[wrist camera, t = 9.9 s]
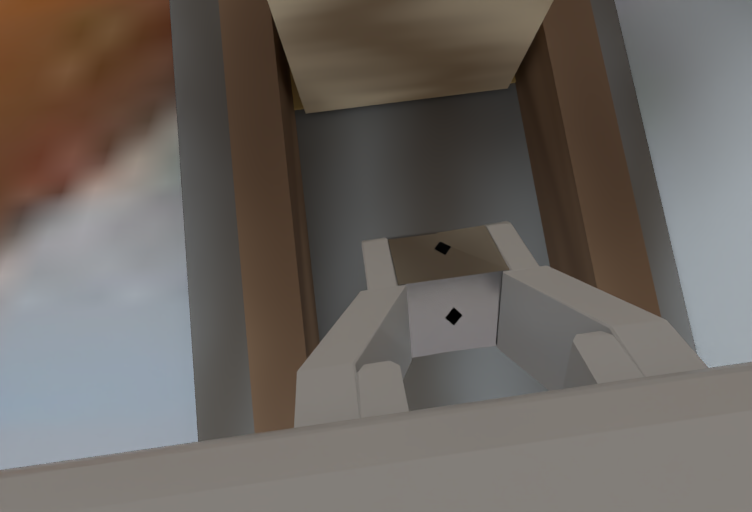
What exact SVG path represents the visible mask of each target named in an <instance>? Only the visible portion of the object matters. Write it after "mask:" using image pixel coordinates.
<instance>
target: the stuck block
mask: <svg viewBox="0 0 752 512" xmlns="http://www.w3.org/2000/svg"><path fill="white" fill-rule="evenodd" d="M267 1H268V4H269V7H270V10H271V13H272V16H273V19H274V22H275V25H276V28H277V31H278V34H279V37H280V40H281V42H282V45H283V48H284V51H285V54H286V57H287V60H288V63H289V66H290V69H291V72H292V75H293V78H294V81H295V84H296V87H297V90H298V93H299V96H300V99H301V102H302V105H303V107H304V110H305V113H306V114H307V113H315V112H323V111H331V110H339V109H347V108H355V107H363V106H371V105H379V104H387V103H395V102H403V101H411V100H419V99H427V98H435V97H443V96H451V95H459V94H467V93H475V92H483V91H491V90H499V89H507V88H508V87H509V85H510V83H511V81H512V79H513V77H514V75H515V73H516V72H517V70H518V68H519V66H520V64H521V62H522V60H523V58H524V56H525V54H526V52H527V50H528V48H529V47H530V45H531V43H532V41H533V39H534V37H535V35H536V33H537V31H538V29H539V27H540V25H541V23H542V22H543V20H544V18H545V16H546V14H547V12H548V10H549V8H550V6H551V4H552V2H553V0H267Z"/></svg>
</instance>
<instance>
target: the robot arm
mask: <svg viewBox="0 0 752 512" xmlns="http://www.w3.org/2000/svg"><path fill="white" fill-rule="evenodd" d="M362 251H363V259H364V266H365V274H366V281H367V289H368V290H364V291H360V293H359V294H358V295H357V296H356V298H355V299H354V300H353V301H352V303H351V304H350V305H349V306H348V308H347V309H346V310H345V311H344V313H343V314H342V315H341V317H340V318H339V319H338V320H337V322H336V323H335V324H334V325H333V327H332V328H331V329H330V330H329V332H328V333H327V334H326V336H325V337H324V338H323V339H322V341H321V342H320V343H319V344H318V346H317V347H316V348H315V349H314V351H313V352H312V353H311V355H310V356H309V357H308V358H307V360H306V361H305V362H304V363H303V365H302V366H301V367H300V368H299V370H298V371H297V381H296V399H295V418H294V428H289V429H282V430H275V431H268V432H261V433H255V434H248V435H241V436H234V437H227V438H220V439H213V440H206V441H199V442H192V443H185V444H178V445H171V446H165V447H158V448H151V449H144V450H137V451H130V452H123V453H116V454H109V455H102V456H95V457H88V458H81V459H74V460H67V461H60V462H53V463H46V464H39V465H33V466H26V467H19V468H12V469H5V470H0V512H752V362H747V363H740V364H733V365H726V366H719V367H712V368H708V367H707V366H706V364H705V363H704V362H703V361H702V360H701V359H700V358H699V356H698V355H697V354H696V353H695V352H694V351H693V350H692V348H691V347H690V346H689V345H688V344H687V343H686V342H685V340H684V339H683V338H682V337H681V336H680V335H679V334H678V332H677V331H676V330H675V329H674V328H673V327H672V326H671V324H670V323H669V322H668V321H667V320H665V319H663V318H661V317H659V316H656V315H654V314H652V313H650V312H648V311H645V310H643V309H641V308H639V307H637V306H635V305H632V304H630V303H628V302H626V301H624V300H621V299H619V298H617V297H615V296H613V295H610V294H608V293H606V292H604V291H602V290H599V289H597V288H595V287H593V286H591V285H589V284H586V283H584V282H582V281H580V280H578V279H575V278H573V277H571V276H569V275H567V274H564V273H562V272H560V271H558V270H556V269H553V268H551V267H549V266H539V265H538V263H537V262H536V260H535V259H534V257H533V256H532V254H531V253H530V251H529V250H528V248H527V247H526V245H525V244H524V242H523V241H522V239H521V237H520V236H519V234H518V233H517V231H516V230H515V228H514V227H513V225H512V224H511V223H510V222H508V221H504V222H498V223H492V224H486V225H482V226H476V227H469V228H463V229H456V230H450V231H443V232H437V233H436V232H431V233H422V234H414V235H405V236H396V237H387V239H386V238H378V239H371V240H364V241H362ZM492 346H497V348H498V349H499V350H500V351H501V352H503V353H504V354H505V355H506V356H507V357H509V358H510V359H511V360H512V361H514V362H515V363H516V364H517V365H518V366H520V367H521V368H522V369H523V370H525V371H526V372H527V373H528V374H530V375H531V376H532V377H533V378H534V379H536V380H537V381H538V382H539V383H541V384H542V385H543V386H544V387H546V388H547V389H548V390H549V391H545V392H538V393H531V394H524V395H517V396H510V397H503V398H496V399H489V400H483V401H476V402H469V403H462V404H455V405H448V406H441V407H434V408H428V409H421V410H414V411H409V409H408V404H407V399H406V394H405V389H404V384H403V379H404V377H405V374H406V372H407V370H408V368H409V366H410V364H411V361H412V358H414V357H420V356H426V355H432V354H438V353H444V352H450V351H457V350H466V349H474V348H483V347H492Z"/></svg>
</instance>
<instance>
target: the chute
mask: <svg viewBox="0 0 752 512" xmlns="http://www.w3.org/2000/svg"><path fill="white" fill-rule="evenodd" d="M169 1H170V16H171V31H172V47H173V62H174V77H175V93H176V108H177V123H178V138H179V154H180V169H181V184H182V200H183V215H184V230H185V246H186V261H187V276H188V292H189V307H190V322H191V337H192V353H193V368H194V383H195V399H196V414H197V429H198V442H199V441H206V440H213V439H220V438H227V437H234V436H241V435H248V434H255V433H261V432H268V431H275V430H282V429H289V428H294V418H295V399H296V381H297V371H298V370H299V368H300V367H301V366H302V365H303V363H304V362H305V361H306V360H307V358H308V357H309V356H310V355H311V353H312V352H313V351H314V349H315V348H316V347H317V346H318V344H319V343H320V342H321V341H322V339H323V338H324V337H325V336H326V334H327V333H328V332H329V330H330V329H331V328H332V327H333V325H334V324H335V323H336V322H337V320H338V319H339V318H340V317H341V315H342V314H343V313H344V311H345V310H346V309H347V308H348V306H349V305H350V304H351V303H352V301H353V300H354V299H355V298H356V296H357V295H358V294H359V293H360V291H364V290H368V289H367V281H366V274H365V266H364V259H363V251H362V241H364V240H371V239H378V238H386V239H387V237H396V236H405V235H414V234H422V233H431V232H436V233H437V232H443V231H450V230H456V229H463V228H469V227H476V226H482V225H486V224H492V223H498V222H504V221H508V222H510V223H511V224H512V225H513V227H514V228H515V230H516V231H517V233H518V234H519V236H520V237H521V239H522V241H523V242H524V244H525V245H526V247H527V248H528V250H529V251H530V253H531V254H532V256H533V257H534V259H535V260H536V262H537V263H538V265H539V266H549V267H551V268H553V269H556V270H558V271H560V272H562V273H564V274H567V275H569V276H571V277H573V278H575V279H578V280H580V281H582V282H584V283H586V284H589V285H591V286H593V287H595V288H597V289H599V290H602V291H604V292H606V293H608V294H610V295H613V296H615V297H617V298H619V299H621V300H624V301H626V302H628V303H630V304H632V305H635V306H637V307H639V308H641V309H643V310H645V311H648V312H650V313H652V314H654V315H656V316H659V317H661V318H663V319H665V320H667V321H668V322H669V323H670V324H671V326H672V327H673V328H674V329H675V330H676V331H677V332H678V334H679V335H680V336H681V337H682V338H683V339H684V340H685V342H686V343H687V344H688V345H689V346H690V347H691V348H692V350H693V351H694V352H695V353H696V349H695V345H694V340H693V336H692V332H691V327H690V323H689V319H688V315H687V310H686V306H685V302H684V297H683V293H682V289H681V285H680V280H679V276H678V272H677V267H676V263H675V259H674V255H673V250H672V246H671V242H670V237H669V233H668V229H667V225H666V220H665V216H664V212H663V207H662V203H661V199H660V195H659V190H658V186H657V182H656V177H655V173H654V169H653V165H652V160H651V156H650V152H649V147H648V143H647V139H646V135H645V130H644V126H643V122H642V118H641V113H640V109H639V105H638V100H637V96H636V92H635V88H634V83H633V79H632V75H631V70H630V66H629V62H628V58H627V53H626V49H625V45H624V40H623V36H622V32H621V28H620V23H619V19H618V15H617V10H616V6H615V2H614V0H553V2H552V4H551V6H550V8H549V10H548V12H547V14H546V16H545V18H544V20H543V22H542V23H541V25H540V27H539V29H538V31H537V33H536V35H535V37H534V39H533V41H532V43H531V45H530V47H529V48H528V50H527V52H526V54H525V56H524V58H523V60H522V62H521V64H520V66H519V68H518V70H517V72H516V73H515V75H514V77H513V79H512V81H511V83H510V85H509V87H508V88H507V89H499V90H491V91H483V92H475V93H467V94H459V95H451V96H443V97H435V98H427V99H419V100H411V101H403V102H395V103H387V104H379V105H371V106H363V107H355V108H347V109H339V110H331V111H323V112H315V113H307V114H306V113H305V110H304V107H303V105H302V102H301V99H300V96H299V93H298V90H297V87H296V84H295V81H294V78H293V75H292V72H291V69H290V66H289V63H288V60H287V57H286V54H285V51H284V48H283V45H282V42H281V40H280V37H279V34H278V31H277V28H276V25H275V22H274V19H273V16H272V13H271V10H270V7H269V4H268V1H267V0H169ZM696 354H697V353H696ZM403 384H404V389H405V394H406V399H407V404H408V409H409V411H414V410H421V409H428V408H434V407H441V406H448V405H455V404H462V403H469V402H476V401H483V400H489V399H496V398H503V397H510V396H517V395H524V394H531V393H538V392H545V391H549V390H548V389H547V388H546V387H544V386H543V385H542V384H541V383H539V382H538V381H537V380H536V379H534V378H533V377H532V376H531V375H530V374H528V373H527V372H526V371H525V370H523V369H522V368H521V367H520V366H518V365H517V364H516V363H515V362H514V361H512V360H511V359H510V358H509V357H507V356H506V355H505V354H504V353H503V352H501V351H500V350H499V349H498V348H497V346H492V347H483V348H474V349H466V350H457V351H450V352H444V353H438V354H432V355H426V356H420V357H414V358H412V361H411V364H410V366H409V368H408V370H407V372H406V374H405V377H404V379H403Z"/></svg>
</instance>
